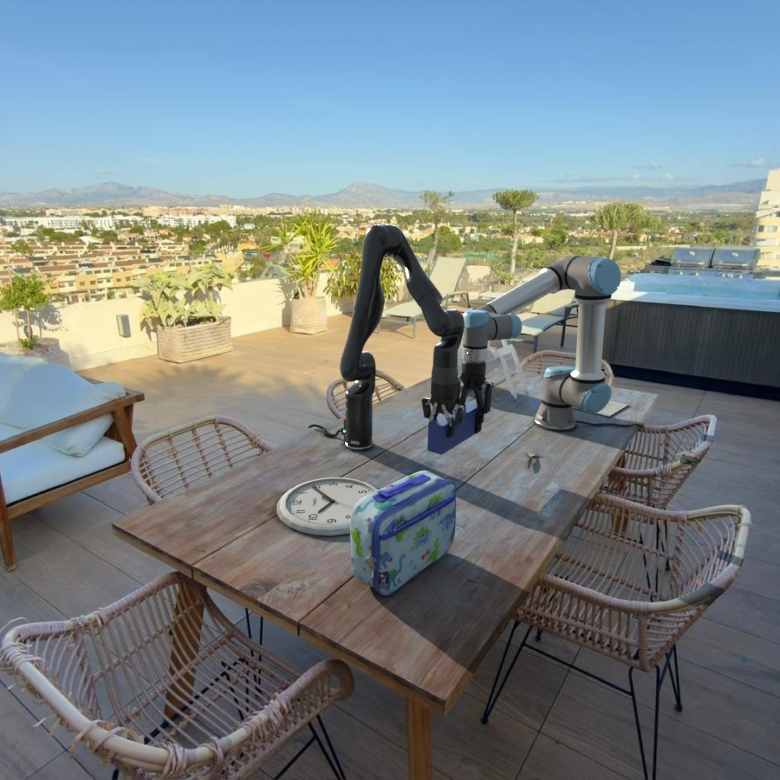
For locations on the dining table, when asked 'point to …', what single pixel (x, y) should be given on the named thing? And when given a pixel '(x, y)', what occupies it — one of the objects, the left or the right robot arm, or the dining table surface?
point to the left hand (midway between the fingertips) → (441, 434)
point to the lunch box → (402, 530)
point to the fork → (531, 456)
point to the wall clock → (322, 505)
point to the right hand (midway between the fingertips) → (469, 429)
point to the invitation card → (611, 408)
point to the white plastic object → (495, 361)
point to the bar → (461, 433)
